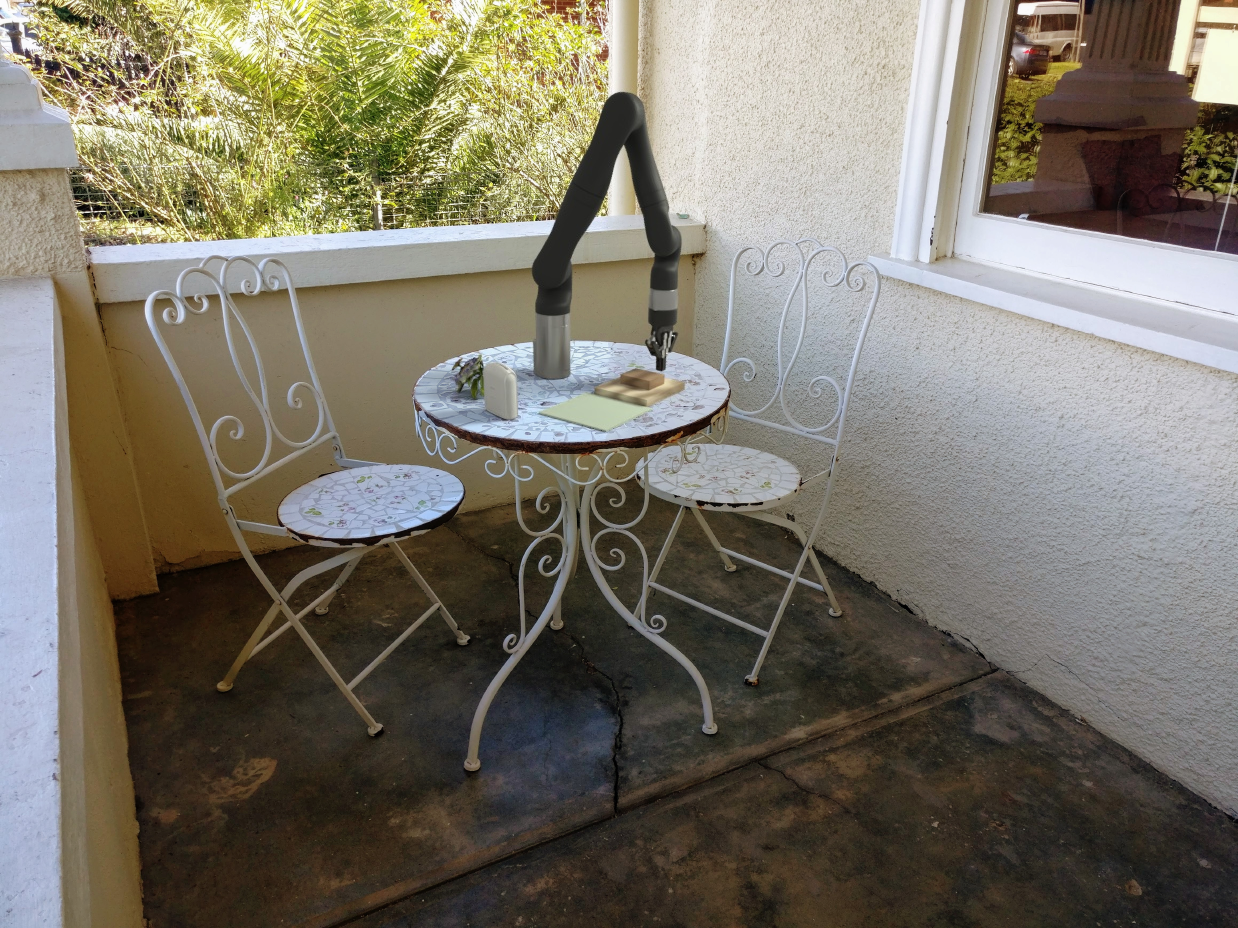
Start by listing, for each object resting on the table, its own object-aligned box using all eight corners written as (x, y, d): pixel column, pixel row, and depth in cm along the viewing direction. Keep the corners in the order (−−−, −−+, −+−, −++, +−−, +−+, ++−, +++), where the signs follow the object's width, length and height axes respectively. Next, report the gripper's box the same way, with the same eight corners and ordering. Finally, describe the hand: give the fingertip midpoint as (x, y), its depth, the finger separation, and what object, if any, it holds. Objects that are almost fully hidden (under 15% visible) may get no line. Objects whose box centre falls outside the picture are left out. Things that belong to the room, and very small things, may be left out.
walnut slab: (620, 383, 227) (620, 374, 226) (635, 377, 233) (635, 368, 232) (649, 390, 223) (649, 381, 222) (664, 383, 228) (664, 374, 227)
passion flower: (461, 412, 227) (448, 369, 229) (502, 401, 229) (489, 358, 231) (460, 400, 216) (447, 355, 218) (503, 389, 219) (489, 344, 220)
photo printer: (482, 409, 213) (480, 360, 208) (497, 406, 216) (495, 357, 211) (505, 421, 206) (503, 370, 201) (520, 418, 208) (519, 367, 204)
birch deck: (594, 394, 225) (594, 387, 224) (633, 378, 239) (634, 370, 238) (646, 407, 217) (646, 400, 216) (684, 389, 230) (685, 382, 229)
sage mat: (538, 413, 211) (538, 412, 211) (586, 393, 226) (586, 392, 226) (606, 432, 201) (606, 430, 201) (652, 409, 215) (652, 408, 215)
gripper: (664, 299, 234) (662, 362, 241) (636, 308, 224) (634, 373, 231) (688, 303, 230) (685, 367, 237) (661, 312, 220) (659, 379, 227)
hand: (660, 370), depth 234 cm, fingers closed
